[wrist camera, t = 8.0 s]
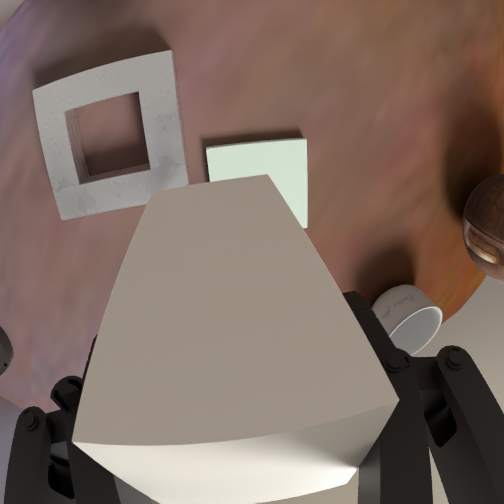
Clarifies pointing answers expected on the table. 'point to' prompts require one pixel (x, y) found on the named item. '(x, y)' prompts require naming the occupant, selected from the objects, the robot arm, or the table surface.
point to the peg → (229, 356)
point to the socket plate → (155, 127)
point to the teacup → (408, 317)
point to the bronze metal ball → (486, 226)
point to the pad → (266, 167)
